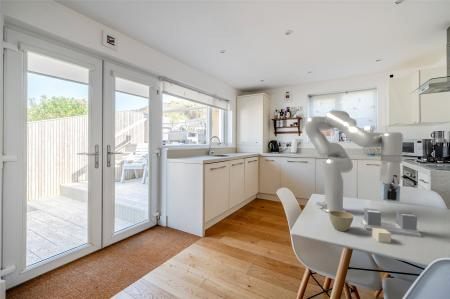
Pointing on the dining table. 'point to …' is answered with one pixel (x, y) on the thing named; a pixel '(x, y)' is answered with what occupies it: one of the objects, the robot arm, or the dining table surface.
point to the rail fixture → (403, 226)
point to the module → (384, 191)
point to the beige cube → (381, 235)
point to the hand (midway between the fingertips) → (389, 197)
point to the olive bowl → (341, 220)
